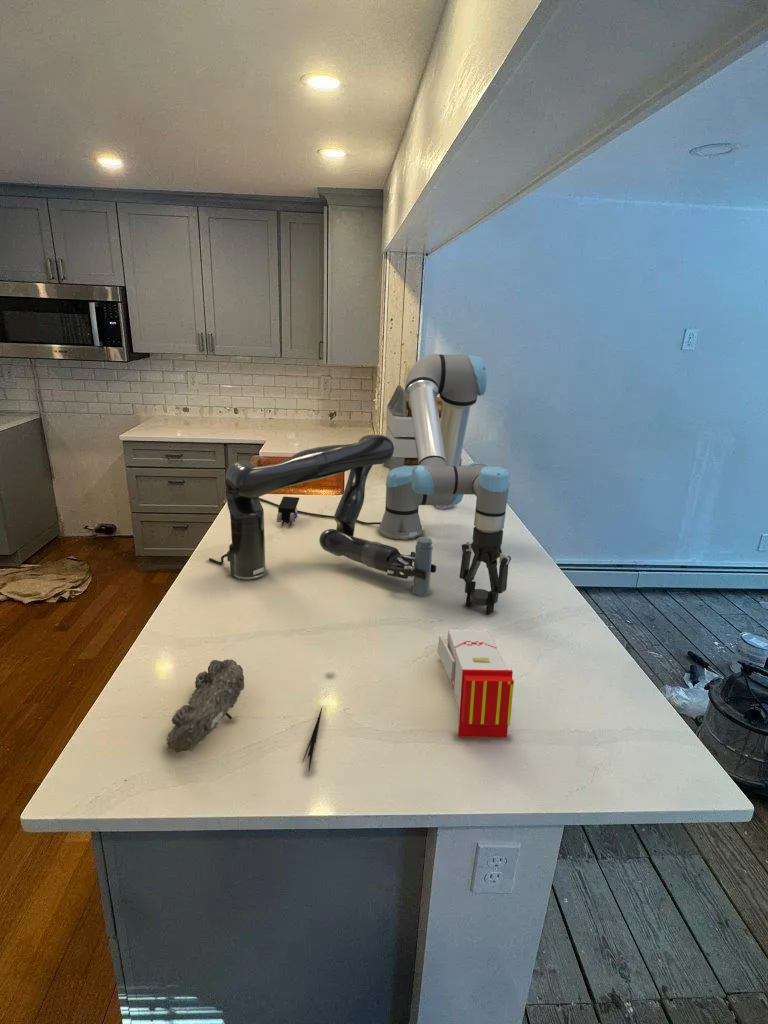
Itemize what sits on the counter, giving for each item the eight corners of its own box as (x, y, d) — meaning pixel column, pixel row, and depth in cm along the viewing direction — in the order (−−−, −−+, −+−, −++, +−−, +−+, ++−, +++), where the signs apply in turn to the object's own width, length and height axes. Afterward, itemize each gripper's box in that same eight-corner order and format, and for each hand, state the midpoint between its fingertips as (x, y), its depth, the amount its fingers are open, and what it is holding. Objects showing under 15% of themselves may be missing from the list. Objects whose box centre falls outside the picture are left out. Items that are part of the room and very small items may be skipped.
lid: (465, 601, 150) (466, 593, 150) (476, 594, 155) (477, 586, 154) (483, 608, 147) (484, 600, 146) (494, 601, 151) (495, 593, 151)
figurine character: (295, 532, 200) (300, 513, 214) (294, 513, 197) (299, 495, 210) (276, 531, 200) (282, 512, 213) (275, 512, 197) (281, 494, 210)
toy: (488, 613, 130) (523, 677, 101) (484, 667, 133) (517, 744, 104) (435, 612, 130) (455, 676, 101) (432, 666, 133) (451, 743, 103)
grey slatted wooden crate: (382, 463, 289) (386, 382, 275) (445, 464, 293) (451, 384, 279) (390, 482, 257) (394, 392, 243) (460, 483, 261) (468, 394, 247)
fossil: (192, 660, 117) (244, 628, 112) (224, 691, 120) (276, 661, 115) (142, 746, 98) (202, 712, 93) (182, 779, 101) (242, 748, 96)
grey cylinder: (432, 591, 160) (436, 539, 155) (422, 597, 157) (426, 544, 151) (419, 586, 163) (422, 535, 157) (409, 592, 159) (412, 539, 154)
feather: (331, 679, 122) (336, 673, 122) (307, 777, 96) (313, 769, 95) (324, 675, 122) (329, 669, 121) (298, 772, 95) (304, 764, 95)
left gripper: (365, 552, 158) (418, 569, 149) (393, 537, 169) (444, 552, 160) (365, 576, 160) (417, 594, 152) (392, 560, 172) (442, 575, 163)
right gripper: (528, 534, 141) (517, 616, 149) (466, 515, 152) (458, 592, 160) (513, 542, 136) (502, 626, 143) (450, 521, 147) (443, 601, 155)
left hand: (430, 572), depth 156 cm, fingers closed on grey cylinder, 4 cm apart
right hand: (479, 608), depth 152 cm, fingers closed on lid, 6 cm apart
